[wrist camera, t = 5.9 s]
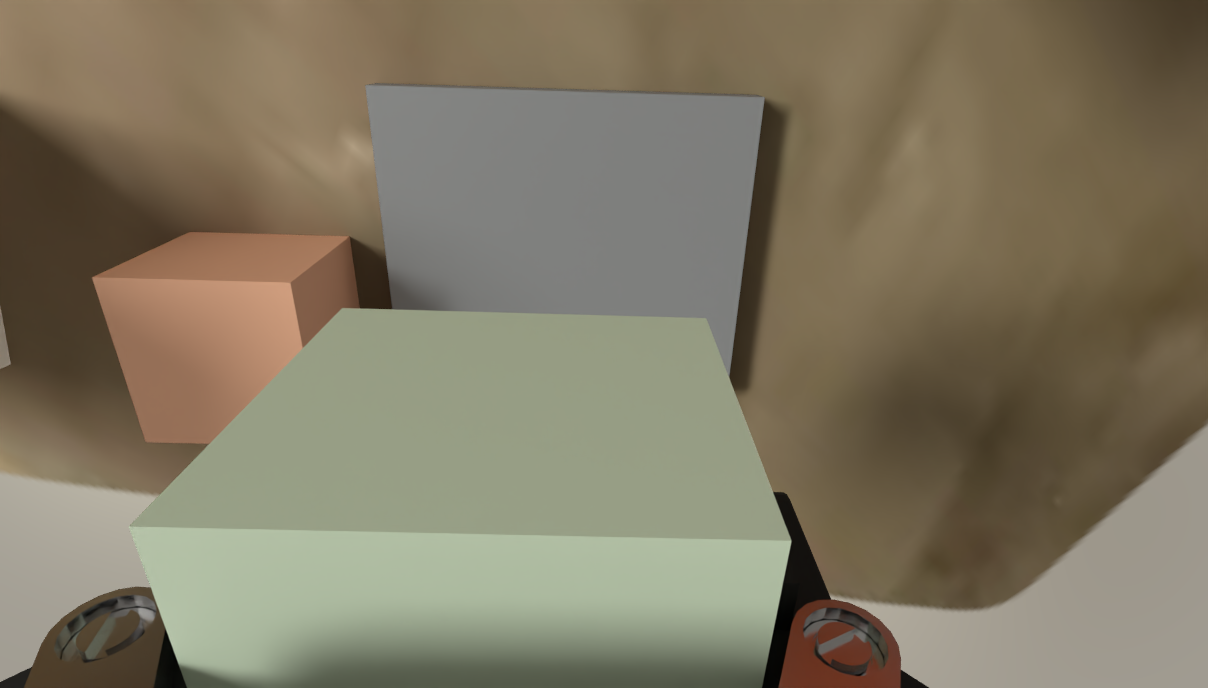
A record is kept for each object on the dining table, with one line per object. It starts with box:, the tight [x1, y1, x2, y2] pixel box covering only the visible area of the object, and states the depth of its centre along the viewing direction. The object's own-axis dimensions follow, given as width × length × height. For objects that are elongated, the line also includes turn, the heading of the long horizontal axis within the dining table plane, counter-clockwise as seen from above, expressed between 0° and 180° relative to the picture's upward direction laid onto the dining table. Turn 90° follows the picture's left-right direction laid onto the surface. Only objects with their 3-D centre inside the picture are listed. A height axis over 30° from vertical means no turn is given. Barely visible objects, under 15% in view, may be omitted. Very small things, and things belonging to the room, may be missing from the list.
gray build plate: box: [365, 83, 765, 376], centre depth 26 cm, size 12×14×1 cm
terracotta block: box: [92, 232, 360, 444], centre depth 25 cm, size 6×6×6 cm
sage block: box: [129, 308, 791, 688], centre depth 10 cm, size 6×6×6 cm
